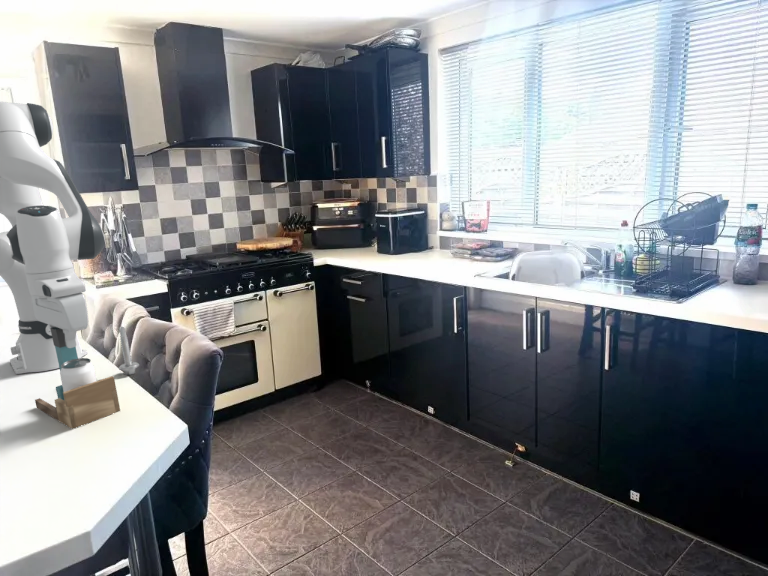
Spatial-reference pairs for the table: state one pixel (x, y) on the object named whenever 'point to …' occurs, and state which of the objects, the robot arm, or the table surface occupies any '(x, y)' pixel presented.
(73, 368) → the can
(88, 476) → the table surface
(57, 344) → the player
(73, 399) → the wooden box
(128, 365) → the screw
